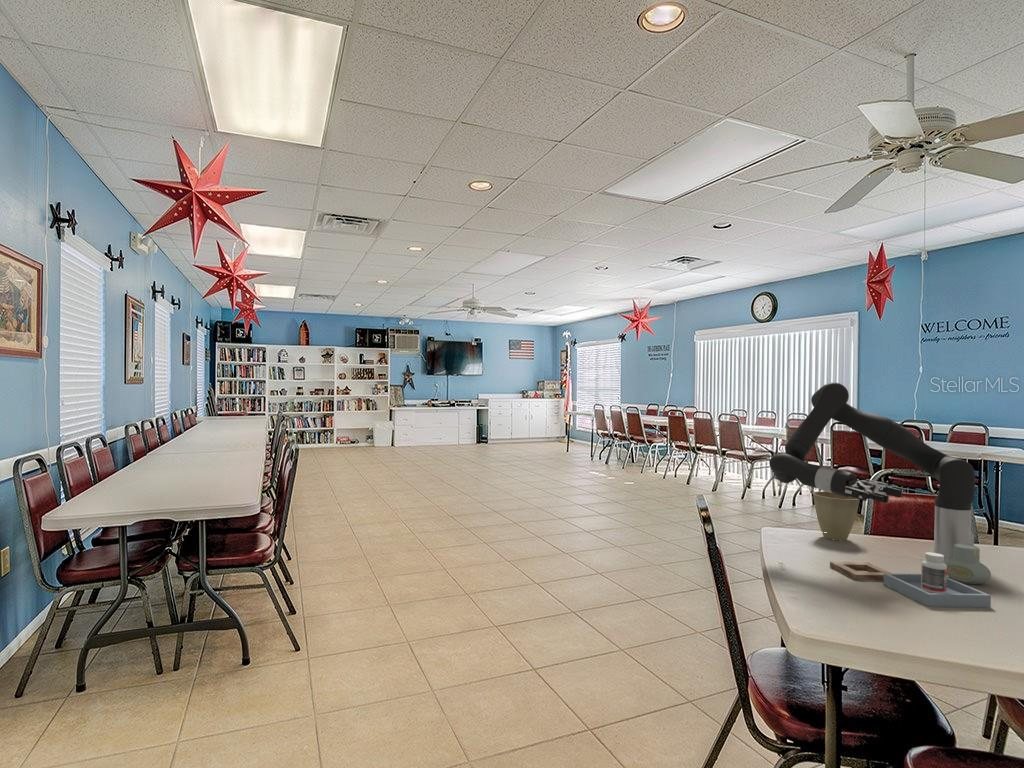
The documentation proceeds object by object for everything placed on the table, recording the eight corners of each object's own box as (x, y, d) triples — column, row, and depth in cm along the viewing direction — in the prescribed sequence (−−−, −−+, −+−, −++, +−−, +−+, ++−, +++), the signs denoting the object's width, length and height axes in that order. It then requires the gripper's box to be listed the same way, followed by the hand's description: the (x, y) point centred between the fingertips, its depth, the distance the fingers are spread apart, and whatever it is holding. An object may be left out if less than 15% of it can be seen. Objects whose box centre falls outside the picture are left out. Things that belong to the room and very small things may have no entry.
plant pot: (804, 536, 205) (805, 493, 206) (823, 531, 214) (823, 490, 215) (848, 546, 194) (849, 500, 194) (866, 540, 203) (866, 496, 203)
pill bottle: (950, 596, 143) (951, 558, 144) (925, 593, 145) (926, 555, 145) (941, 589, 149) (942, 552, 149) (917, 586, 150) (918, 550, 150)
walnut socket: (868, 567, 170) (868, 562, 170) (896, 580, 158) (896, 575, 158) (829, 566, 169) (829, 561, 169) (855, 580, 157) (855, 574, 157)
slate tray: (939, 585, 155) (939, 574, 155) (990, 607, 139) (990, 595, 139) (883, 584, 155) (883, 573, 155) (928, 606, 139) (928, 594, 139)
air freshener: (995, 584, 157) (996, 549, 157) (983, 589, 153) (983, 552, 153) (949, 573, 166) (950, 539, 166) (936, 577, 162) (937, 543, 162)
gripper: (824, 473, 166) (885, 488, 152) (847, 466, 174) (907, 479, 160) (822, 497, 167) (882, 514, 153) (845, 489, 175) (904, 504, 161)
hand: (894, 496), depth 157 cm, fingers open, 8 cm apart
